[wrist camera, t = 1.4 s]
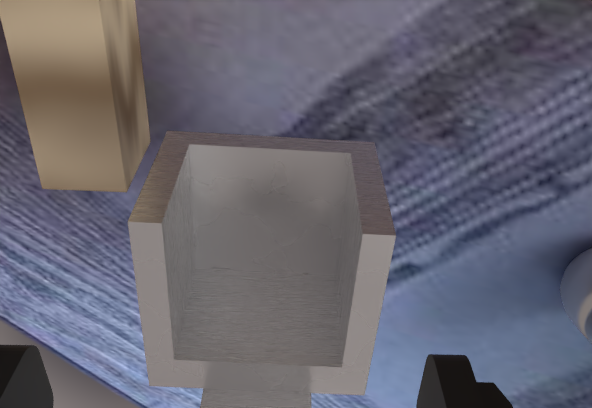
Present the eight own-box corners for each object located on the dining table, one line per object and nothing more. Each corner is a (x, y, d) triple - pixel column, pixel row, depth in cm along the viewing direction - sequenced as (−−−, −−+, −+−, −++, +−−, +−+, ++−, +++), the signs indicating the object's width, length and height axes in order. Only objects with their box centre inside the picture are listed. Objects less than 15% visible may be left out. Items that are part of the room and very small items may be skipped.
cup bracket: (207, 40, 31) (70, 352, 13) (352, 49, 31) (427, 369, 13) (212, 218, 38) (128, 592, 19) (332, 225, 38) (361, 600, 19)
